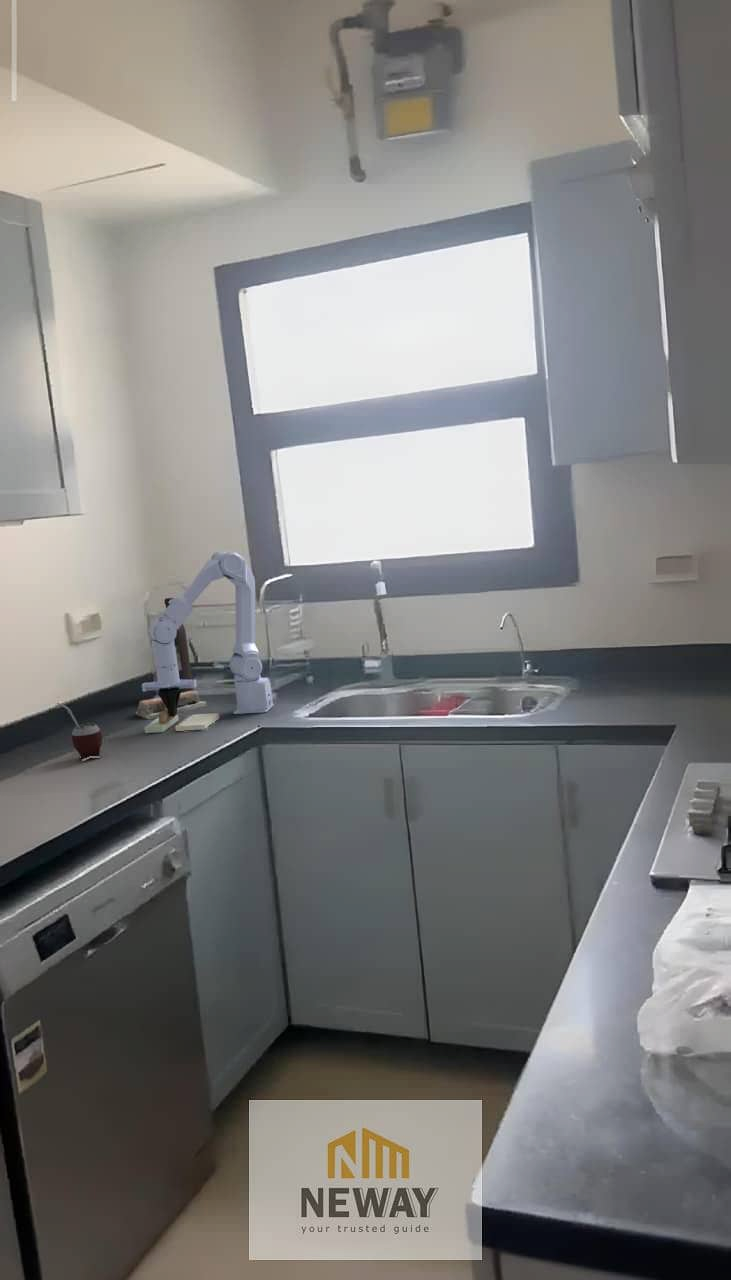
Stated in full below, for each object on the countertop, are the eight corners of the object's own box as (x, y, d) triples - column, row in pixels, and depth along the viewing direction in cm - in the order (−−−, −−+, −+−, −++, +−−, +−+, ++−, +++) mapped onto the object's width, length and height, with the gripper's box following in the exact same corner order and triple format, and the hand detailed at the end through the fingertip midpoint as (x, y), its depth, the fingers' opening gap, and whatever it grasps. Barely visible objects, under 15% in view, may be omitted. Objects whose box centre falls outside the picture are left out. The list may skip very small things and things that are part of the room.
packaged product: (146, 704, 293) (133, 699, 301) (148, 721, 294) (135, 716, 302) (205, 691, 303) (191, 686, 311) (208, 707, 303) (193, 702, 312)
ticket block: (219, 718, 286) (218, 712, 286) (205, 730, 275) (204, 724, 274) (191, 720, 288) (190, 714, 288) (175, 731, 276) (175, 725, 276)
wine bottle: (167, 697, 321) (154, 599, 316) (190, 693, 324) (177, 595, 319) (173, 701, 315) (160, 601, 310) (196, 696, 318) (183, 597, 312)
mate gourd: (110, 754, 261) (101, 694, 258) (90, 763, 253) (80, 702, 251) (86, 753, 264) (77, 694, 261) (65, 763, 257) (55, 702, 254)
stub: (178, 720, 288) (176, 704, 288) (163, 731, 277) (160, 715, 276) (161, 721, 289) (159, 705, 289) (145, 733, 278) (142, 717, 277)
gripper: (134, 670, 277) (142, 721, 279) (187, 666, 274) (194, 717, 277) (144, 665, 284) (151, 714, 286) (196, 661, 281) (203, 711, 284)
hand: (173, 715), depth 282 cm, fingers closed
